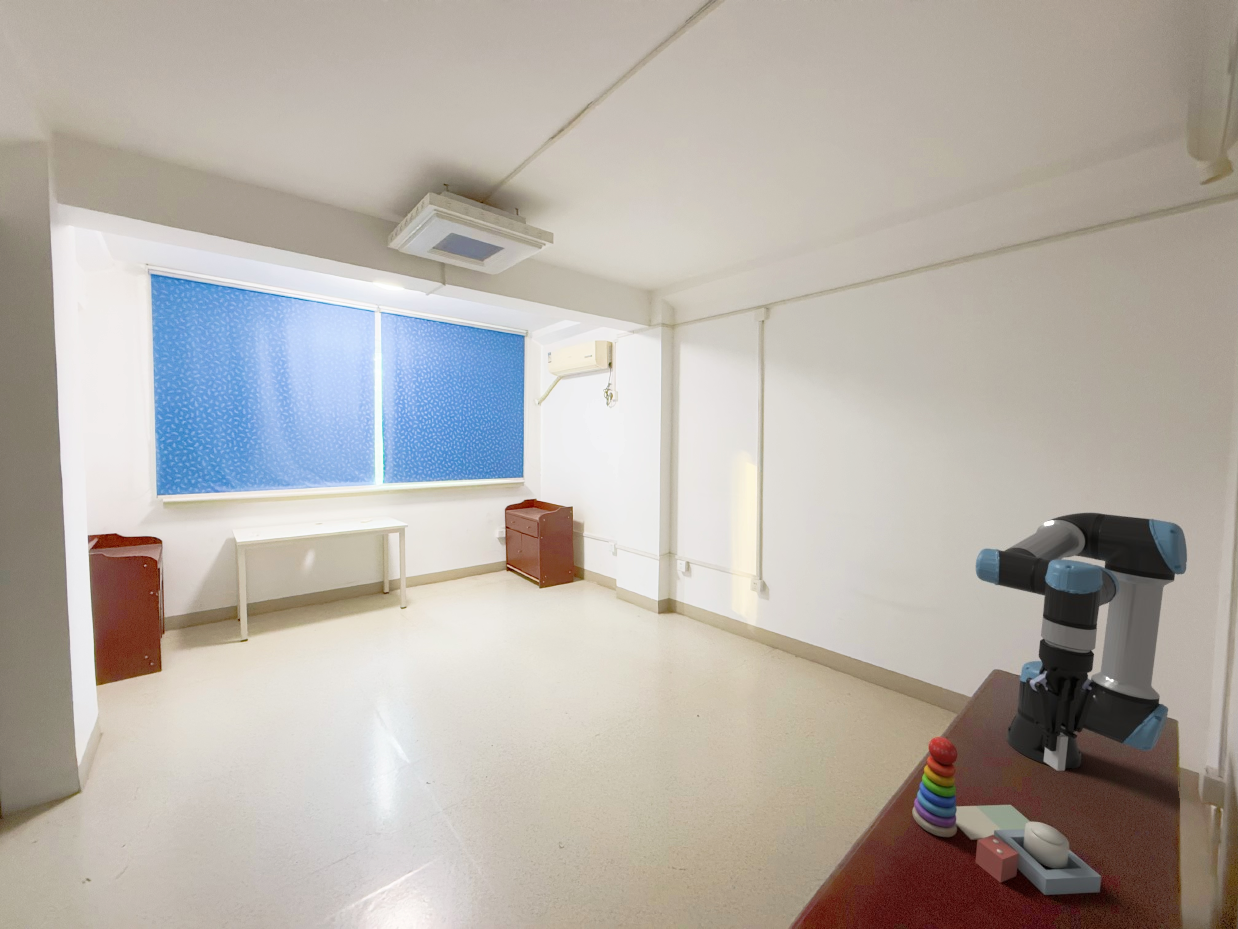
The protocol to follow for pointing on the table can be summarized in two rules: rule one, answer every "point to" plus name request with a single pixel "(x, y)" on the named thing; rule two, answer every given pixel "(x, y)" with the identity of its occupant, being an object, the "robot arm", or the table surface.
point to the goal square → (1004, 816)
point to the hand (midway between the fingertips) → (1053, 765)
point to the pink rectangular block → (997, 858)
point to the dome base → (1052, 881)
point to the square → (974, 822)
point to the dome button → (1046, 845)
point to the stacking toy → (938, 790)
